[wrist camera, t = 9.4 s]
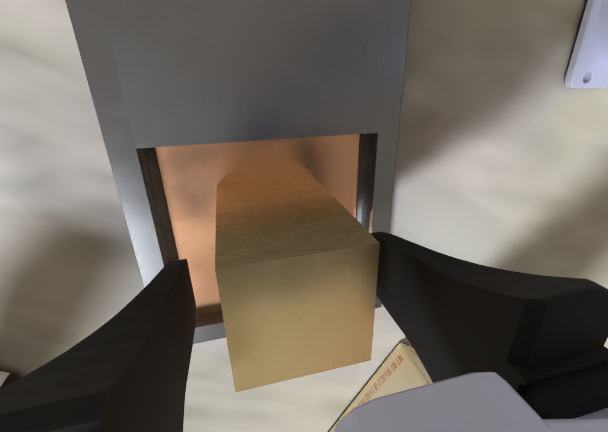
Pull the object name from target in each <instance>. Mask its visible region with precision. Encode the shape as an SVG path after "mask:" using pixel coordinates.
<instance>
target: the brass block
mask: <svg viewBox="0 0 608 432" xmlns="http://www.w3.org/2000/svg"><path fill="white" fill-rule="evenodd" d="M379 250H380V243H379V242H378V241H377V240H376V239H375V238H374V237H373V236H372V235H371V234H370V233H369V232H368V231H367V230H366V229H365V228H364V227H363V226H362V225H361V224H360V223H359V222H358V221H357V220H356V219H355V218H354V217H353V215H352V214H351V213H350V212H349V211H348V210H347V209H346V208H345V207H344V206H343V205H342V204H341V203H340V202H339V201H338V200H337V199H336V198H335V197H334V196H333V195H332V194H331V193H330V192H329V191H328V190H327V189H326V188H325V187H324V186H323V185H322V184H321V183H320V182H319V181H318V180H317V179H316V178H315V177H314V176H305V177H295V178H285V179H275V180H264V181H254V182H244V183H234V184H224V185H216V238H215V272H216V278H217V284H218V290H219V296H220V302H221V308H222V314H223V320H224V326H225V331H226V337H227V343H228V349H229V355H230V361H231V367H232V373H233V379H234V385H235V391H236V392H239V391H243V390H247V389H251V388H256V387H260V386H264V385H268V384H272V383H277V382H281V381H285V380H289V379H293V378H298V377H302V376H306V375H310V374H314V373H319V372H323V371H327V370H331V369H335V368H340V367H344V366H348V365H352V364H356V363H361V362H365V361H369V360H371V350H372V337H373V325H374V312H375V300H376V287H377V275H378V263H379Z"/></svg>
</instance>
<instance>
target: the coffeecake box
mask: <svg viewBox="0 0 608 432" xmlns="http://www.w3.org/2000/svg"><path fill="white" fill-rule="evenodd" d="M431 383H433V382H432V380H431V379H430V377H429V375H428V373H427V371H426V369H425V367H424V366H423V364H422V362H421V360H420V359H419V357H418V355H417V353H416V352H415V350H414V348H413V347H411V346H409V345H406V344H403V343H399V344H398V345H397V347H396V348H395V349H394V350H393V352H392V353H391V354H390V355H389V357H388V358H387V359H386V360H385V362H384V363H383V364H382V366H381V367H380V368H379V369H378V371H377V372H376V373H375V374H374V376H373V377H372V378H371V379H370V381H369V382H368V383H367V384H366V386H365V387H364V388H363V390H362V391H361V392H360V393H359V395H358V396H357V397H356V398H355V400H354V401H353V402H352V403H351V405H350V406H349V407H348V409H347V410H346V411H345V412H344V414H343V415H342V416H341V417H340V419H339V420H338V421H337V422H336V424H337V423H338V422H339V421H340V420H341V419H342V418H343V417H344V416H345V415H347V414H348V413H349V412H350V411H351V410H352V409H353V408H355V407H357V406H359V405H361V404H364V403H366V402H368V401H370V400H372V399H375V398H378V397H382V396H385V395H389V394H393V393H397V392H401V391H405V390H408V389H412V388H416V387H420V386H424V385H427V384H431ZM336 424H335V425H334V426H333V427H332V429H331V430H330V431H329V432H333V430H334V428H335V426H336Z"/></svg>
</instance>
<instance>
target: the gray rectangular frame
mask: <svg viewBox="0 0 608 432" xmlns="http://www.w3.org/2000/svg"><path fill="white" fill-rule="evenodd" d="M65 1H66V4H67V8H68V11H69V15H70V19H71V22H72V26H73V30H74V33H75V37H76V41H77V44H78V48H79V51H80V55H81V59H82V62H83V66H84V70H85V73H86V77H87V80H88V84H89V88H90V91H91V95H92V99H93V102H94V106H95V110H96V113H97V117H98V120H99V124H100V128H101V131H102V135H103V139H104V142H105V146H106V149H107V153H108V157H109V160H110V164H111V168H112V171H113V175H114V178H115V182H116V186H117V189H118V193H119V197H120V200H121V204H122V208H123V211H124V215H125V218H126V222H127V226H128V229H129V233H130V237H131V240H132V244H133V247H134V251H135V255H136V258H137V262H138V266H139V269H140V273H141V277H142V280H143V284H144V287H146V286H147V285H148V284H149V283H150V282H151V280H152V279H153V278H154V277H155V276H156V275H157V274H158V273H159V272H160V271H161V269H162V268H163V267H164V266H165V265H166V264H167V263H168V262H169V257H168V252H167V248H166V243H165V239H164V234H163V230H162V226H161V221H160V217H159V212H158V208H157V204H156V199H155V195H154V190H153V186H152V182H151V177H150V173H149V168H148V164H147V160H146V155H145V151H144V148H153V147H155V149H156V153H157V158H158V163H159V168H160V172H161V177H162V182H163V186H164V191H165V196H166V201H167V205H168V210H169V215H170V219H171V224H172V229H173V234H174V238H175V243H176V248H177V252H178V257H179V260H180V259H187V262H188V267H189V272H190V277H191V282H192V287H193V292H194V297H195V302H196V321H195V333H194V339H193V344H195V343H200V342H205V341H210V340H215V339H220V338H225V337H226V331H225V326H224V320H223V314H222V308H221V302H220V296H219V290H218V284H217V278H216V272H215V238H216V185H224V184H234V183H244V182H254V181H264V180H275V179H285V178H295V177H305V176H314V177H315V178H316V179H317V180H318V181H319V182H320V183H321V184H322V185H323V186H324V187H325V188H326V189H327V190H328V191H329V192H330V193H331V194H332V195H333V196H334V197H335V198H336V199H337V200H338V201H339V202H340V203H341V204H342V205H343V206H344V207H345V208H346V209H347V210H348V211H349V212H350V213H351V214H352V215H353V217H354V218H355V217H356V196H357V176H358V155H359V134H367V135H366V153H365V170H364V187H363V205H362V222H361V225H362V226H363V227H364V228H365V229H366V230H367V231H368V232H369V233H374V232H381V231H382V232H386V233H389V223H390V212H391V202H392V192H393V182H394V171H395V161H396V151H397V140H398V130H399V120H400V110H401V99H402V89H403V79H404V68H405V58H406V48H407V38H408V27H409V17H410V7H411V0H65ZM381 305H382V303H381V301H380V300H379V298H378V297H377V296H376V300H375V308H379V307H381Z"/></svg>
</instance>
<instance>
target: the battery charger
mask: <svg viewBox="0 0 608 432" xmlns="http://www.w3.org/2000/svg"><path fill="white" fill-rule="evenodd" d="M18 379H20V377H18V376H13V375H10V373H8V372H3V371H0V389H1V388H3V387H5V386H7V385H9V384H11V383H13V382H15V381H17V380H18Z"/></svg>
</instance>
